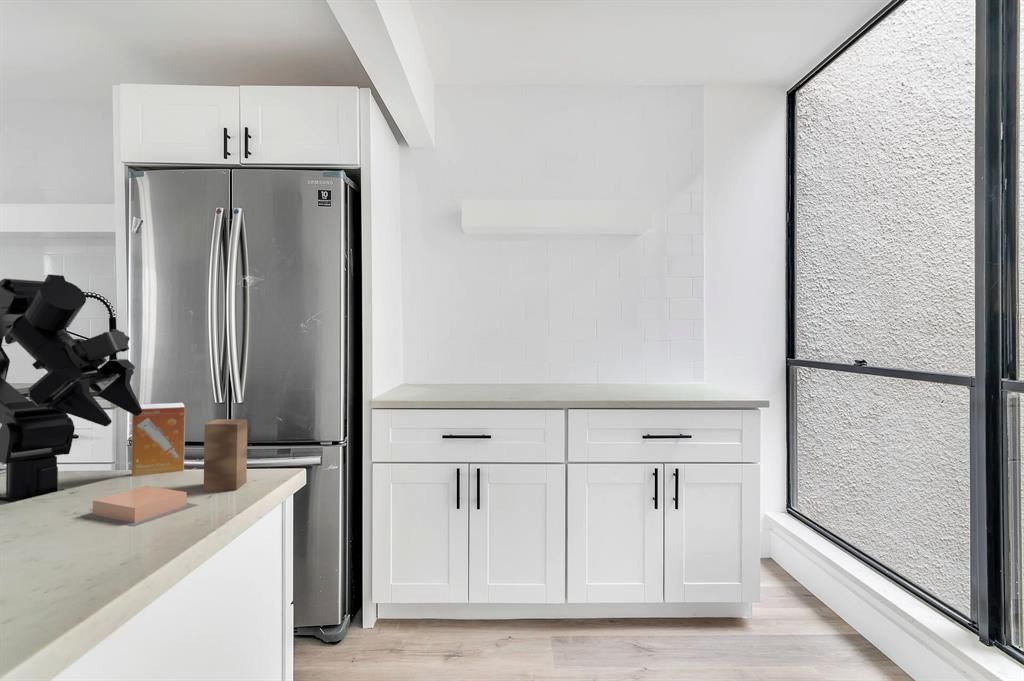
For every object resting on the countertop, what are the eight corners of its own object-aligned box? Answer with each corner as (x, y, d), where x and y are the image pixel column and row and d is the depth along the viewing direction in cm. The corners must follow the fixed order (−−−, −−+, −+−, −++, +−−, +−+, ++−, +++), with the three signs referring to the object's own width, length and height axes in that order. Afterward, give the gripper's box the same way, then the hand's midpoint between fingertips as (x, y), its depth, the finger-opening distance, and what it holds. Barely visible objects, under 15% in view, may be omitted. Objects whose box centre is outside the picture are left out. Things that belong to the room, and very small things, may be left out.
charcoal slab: (81, 530, 79) (81, 515, 79) (148, 509, 89) (149, 496, 89) (133, 541, 76) (134, 525, 76) (198, 518, 85) (198, 504, 85)
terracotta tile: (92, 514, 80) (92, 500, 80) (146, 498, 87) (146, 485, 87) (134, 522, 77) (135, 508, 77) (186, 505, 84) (186, 492, 84)
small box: (131, 483, 100) (132, 408, 100) (131, 475, 105) (132, 404, 105) (184, 477, 104) (185, 406, 104) (182, 470, 110) (183, 402, 109)
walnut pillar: (203, 498, 92) (204, 424, 92) (215, 489, 97) (216, 419, 97) (236, 498, 93) (237, 424, 93) (246, 489, 98) (247, 419, 98)
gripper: (53, 312, 82) (134, 393, 83) (124, 312, 100) (189, 378, 102) (-10, 364, 81) (73, 445, 83) (73, 355, 99) (140, 421, 101)
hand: (125, 418), depth 92 cm, fingers open, 9 cm apart
